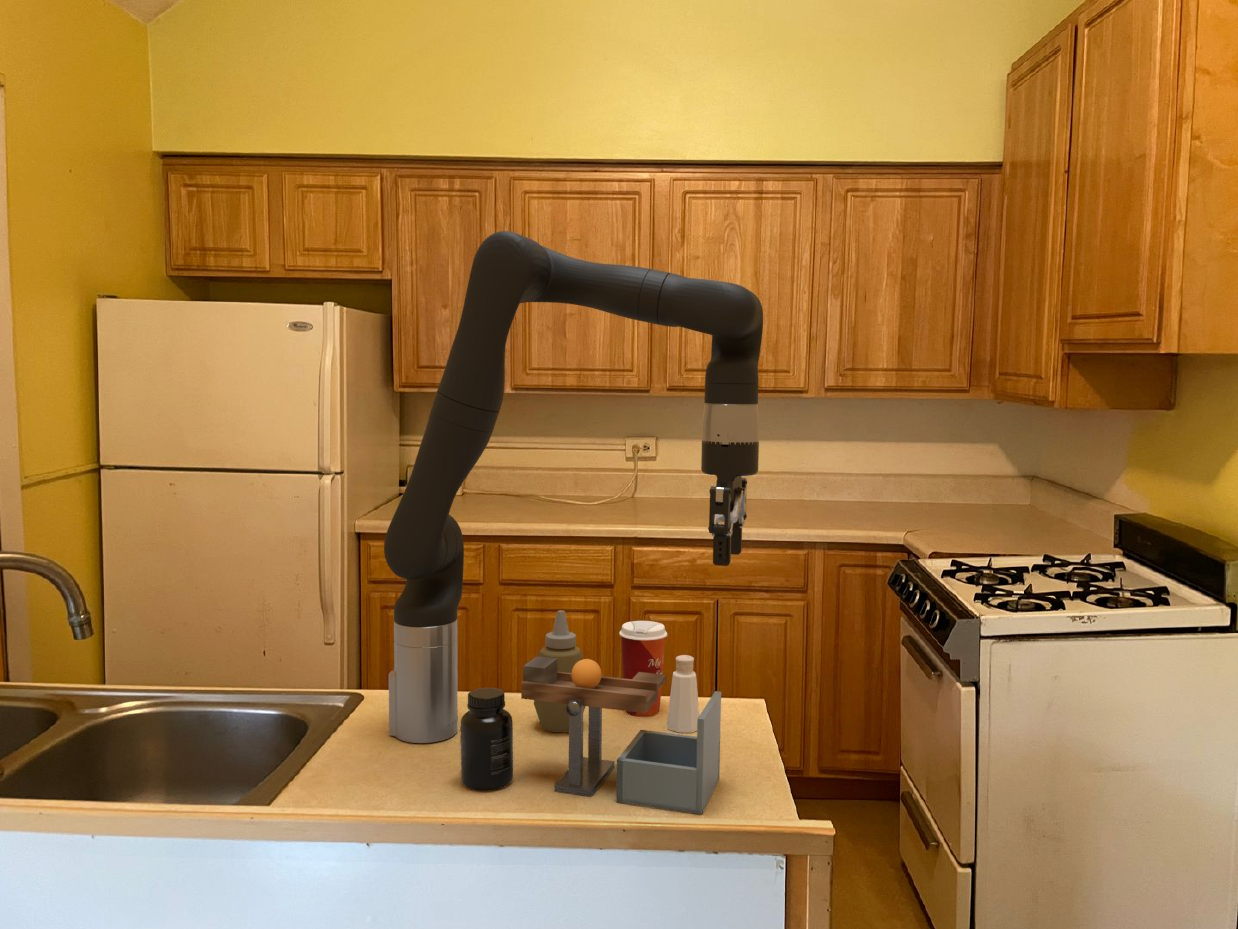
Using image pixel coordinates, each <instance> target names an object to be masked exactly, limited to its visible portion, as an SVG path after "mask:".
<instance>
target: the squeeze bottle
mask: <svg viewBox="0 0 1238 929" xmlns="http://www.w3.org/2000/svg"><path fill="white" fill-rule="evenodd" d="M552 628H553V629H552V631H550V632H548V633H546V635H544V636H545V640H544V641H545V644H544V645H545V646H543V647H542V648H541V649H540V650H539V653H538V657H548V658H557V671H558V672H567V673H571V672H572V669H573V667H574V665H575V664H576V663H577V662H578V661H580V660H583V659H584V658H583V651H582V650H581V649H580V648H579V647H578V646H576V645H577V635H576V634H575V633H574V632H572V631H570V630H569V624H568V621H567V615H566V611H565V610H563V609H562V610H561V609H560V610H557V611H556V615H555V619H554V624H553V627H552ZM533 705H534V709H535V712H536V714H537V718H538V721H539V724H540V727H541V728H542V729H543V730H545V731H548V732H553V733H566V732H567V733H569V714H568V713H567V711H566V707H567V705H568V704H563V703H554V702H546V701H537V700H533ZM586 707H587V706H583V714H584V712H585V710H586Z"/></svg>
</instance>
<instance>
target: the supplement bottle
mask: <svg viewBox="0 0 1238 929" xmlns="http://www.w3.org/2000/svg"><path fill="white" fill-rule="evenodd" d="M505 699H506V698H505V691H504V690H502V689H501V688H495V687H480V688H475V689H471V690H470V691H469V692H468V693H467V704H466V705H467V710H468V711H467V712H465V713H463V715H462V717H461V719H460V724H459V725H460V727H459V728H460V768H461V770H460V774H461V783H462V784H463V786H464V787H466V788H467V789H469V790H471V791H477V792H490V791H491V792H492V791H497V790H500V789H504V788H505V787H507V786H508V785H510V784H511V782H512V781H513V779H514V735H513V734H514V730H513V729H514V728H513V727H514V726H513V725H514V724H513V717H512V715H511V713H510V712H509V711H508V710H506V709H505V707H506V701H505Z"/></svg>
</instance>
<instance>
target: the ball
mask: <svg viewBox="0 0 1238 929" xmlns="http://www.w3.org/2000/svg"><path fill="white" fill-rule="evenodd" d="M601 676H603V675H602V670H601V667H600V665H599V663H598V662H596V661H595V660H594V659H591V658H583V660H580V661H578V662H577V663H576V664H575V665H574V667H573V669H572V672H571V677H572V681H573V683H574V684H575V685H576V686H577V687H582V688H591V689H593V688H595V687H596V686H597V685H598V684H599V682H600V680H601Z"/></svg>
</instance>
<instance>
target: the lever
mask: <svg viewBox="0 0 1238 929" xmlns="http://www.w3.org/2000/svg"><path fill="white" fill-rule="evenodd" d="M522 670H523V671H522V673H523V674H522V676H523V677H522V681H521V682H520V685H521V688H520V689H521V692H520V693H521V696H520V697H521V699H522V700H531V701H534V700H537V701H546V702H554V703H563V704H569V700H570V699H571V698H575V699H584V703H583V706H586V707H588V708H589V707H597V708H602V709H606V710H613V711H614V710H615V711H624V712H625V711H631V712H639V713H646V712H647V711H648V710H649V709H650V707H651V706H652V705H653V704H654V703H655V701H656V700H657V699H658V690H659V689H660V688H661V689H662V687H661V686H664V684H665V683H666V681H667V674H653V673H644V672H638V673H637V675H636V676H635V677H634V678H633V679H623V677H612V676H603V675H602V676H601V680H600V682H599V684H598V685H597V686H596V687H595V688H593V689H591V688H582V687H577V686H576V685H575V684H574V683H573V681H572V677H571V673H567V672H558V671H557V658H548V657H539V655H538V656H535V657H534V658H532V659H531V660H530V661H529V662H527V663H525V664H524V665H523V666H522Z"/></svg>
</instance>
